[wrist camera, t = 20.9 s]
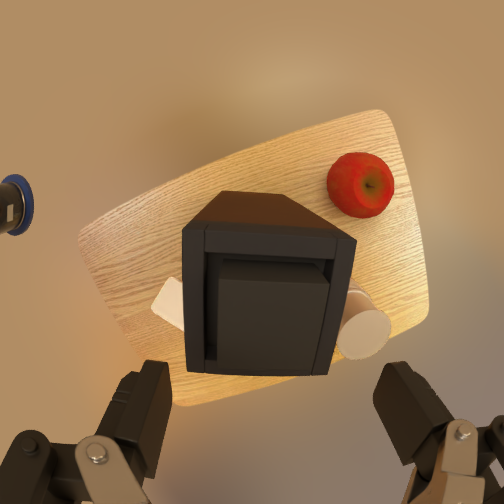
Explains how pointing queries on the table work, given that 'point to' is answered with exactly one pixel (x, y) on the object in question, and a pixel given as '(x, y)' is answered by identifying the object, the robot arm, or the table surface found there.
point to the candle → (361, 325)
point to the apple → (360, 184)
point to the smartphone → (170, 303)
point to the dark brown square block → (269, 314)
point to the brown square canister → (264, 249)
